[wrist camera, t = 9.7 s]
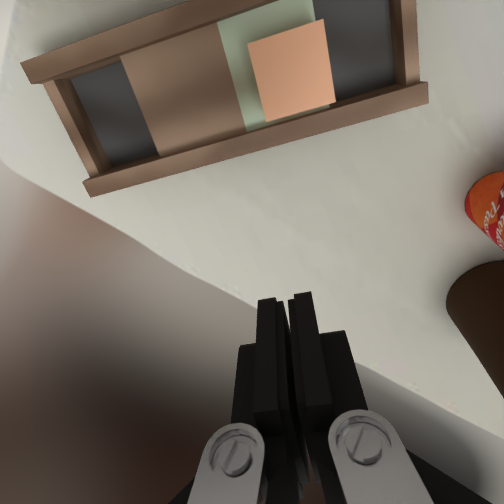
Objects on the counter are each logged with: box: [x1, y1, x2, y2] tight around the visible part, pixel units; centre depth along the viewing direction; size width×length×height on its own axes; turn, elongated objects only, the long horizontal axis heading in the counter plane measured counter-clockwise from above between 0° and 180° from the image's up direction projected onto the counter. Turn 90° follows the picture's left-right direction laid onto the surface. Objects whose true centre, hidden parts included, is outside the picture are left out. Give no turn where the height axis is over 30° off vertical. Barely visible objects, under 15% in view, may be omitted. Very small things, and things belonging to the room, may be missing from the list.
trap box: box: [20, 0, 429, 198], centre depth 28 cm, size 11×29×4 cm, turn 106°
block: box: [247, 19, 336, 122], centre depth 25 cm, size 5×5×4 cm
